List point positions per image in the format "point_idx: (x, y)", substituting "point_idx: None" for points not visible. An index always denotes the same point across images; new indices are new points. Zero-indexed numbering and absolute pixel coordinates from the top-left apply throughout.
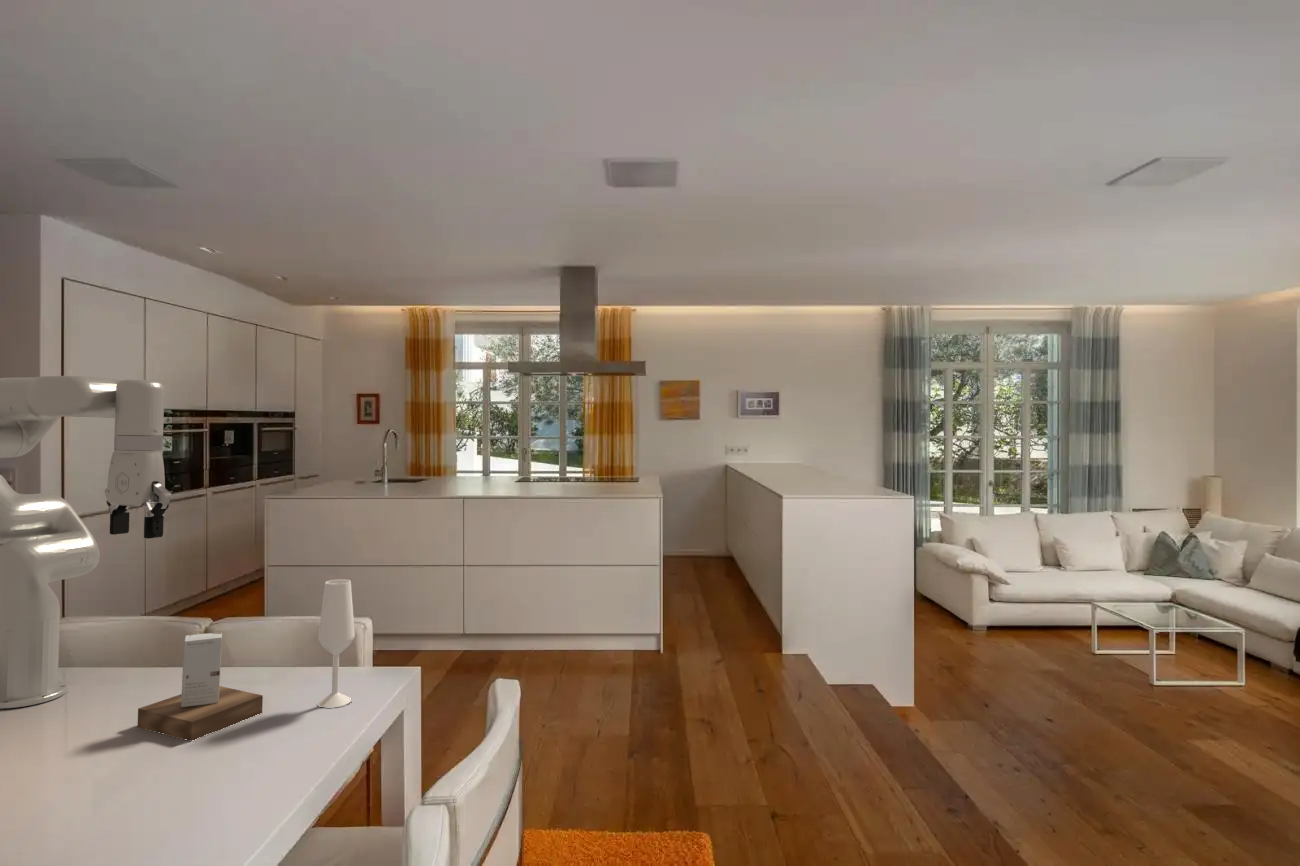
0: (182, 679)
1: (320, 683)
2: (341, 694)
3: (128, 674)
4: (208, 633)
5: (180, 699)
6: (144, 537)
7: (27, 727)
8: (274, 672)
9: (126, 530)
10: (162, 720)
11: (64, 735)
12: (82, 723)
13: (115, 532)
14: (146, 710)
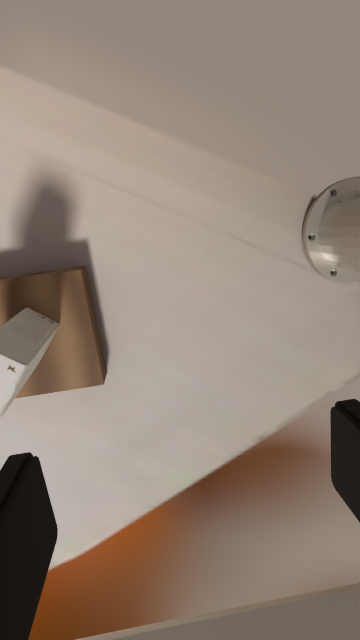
0: (10, 319)
1: (50, 494)
2: None
3: (325, 361)
4: (7, 401)
5: (69, 325)
6: (25, 453)
7: (217, 178)
8: (152, 481)
9: (338, 480)
10: (24, 276)
11: (138, 193)
12: (167, 229)
13: (336, 422)
14: (60, 272)
